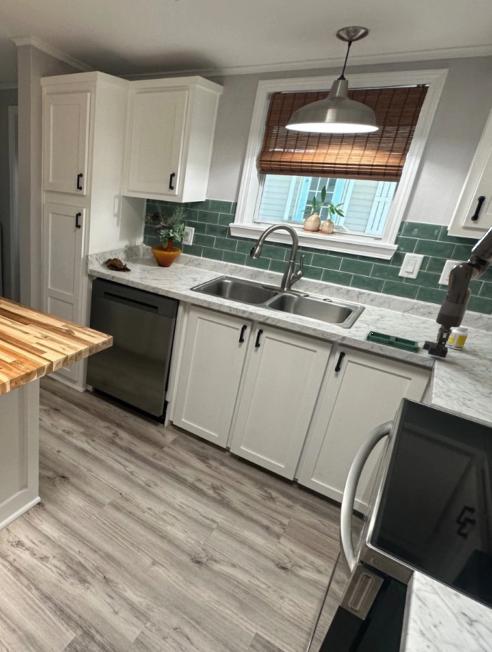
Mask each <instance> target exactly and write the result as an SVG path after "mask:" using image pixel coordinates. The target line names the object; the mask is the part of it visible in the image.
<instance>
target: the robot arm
mask: <svg viewBox="0 0 492 652" xmlns="http://www.w3.org/2000/svg"><path fill="white" fill-rule="evenodd" d="M470 254H471V256H470V257H469V258H468V259H467V261H461V262H458V263H456V264H455V265H453V266H452V267H451V269H450V272H449V274H448V281H447V282H448V283H447V290H446V293H445V296H444V299H443V301H442V303H441V305H440V308H439V311H438V313H437V317H436V319H435V323H436V324H438V325H440V326H439V327H438V330H437V334H436V342H435V343H436V348H435V351H434V355H437V356H436V357H438V356H440V355H441V353H442V350H443V347H447V343H448V341H449V338H450V335H451V333H452V331H453V329H452V328H456V327H459V326H460V325H461V326H462V322H463V319H464V317H465V314H466V311H467V308H468V304H469V302H470V298H471V295H472V290H471V288H470V283H471V281H475V280H477V279H479V278H481V276H483V275H484V274H485V273H486V271H487V270H488V268H489V266H490V265H491V263H492V225H491V226H490V227H489V228H488V229H487V230H486V232H484V234H483V235H482V236H481V238H479V240H478V241H477V242H476V243H475V244H474V246H472V248H471V250H470ZM434 355H433V356H434Z"/></svg>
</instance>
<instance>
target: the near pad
mask: <svg viewBox="0 0 492 652" xmlns="http://www.w3.org/2000/svg"><path fill="white" fill-rule="evenodd" d="M435 348H436V345H435V344H430V347H429V350H427V354H428V355H430V356H435V357H439V358H442V359H446V357H447V354H448V352H449V347H448V346H445V347H443V350H442V353H441V355H440V356H437V355H434V351H435Z"/></svg>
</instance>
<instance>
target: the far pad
mask: <svg viewBox="0 0 492 652" xmlns="http://www.w3.org/2000/svg"><path fill="white" fill-rule="evenodd" d="M430 344H435V345H436V342H434V341H429V340H425V341H424V344H423V346H422V350H424V351H428V350H429V347H430Z"/></svg>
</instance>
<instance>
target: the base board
mask: <svg viewBox="0 0 492 652" xmlns="http://www.w3.org/2000/svg"><path fill="white" fill-rule="evenodd" d="M372 333H373V334H372ZM365 341H366V342H371V343H375V344H379V345H383V346H386V347H391V348H395V349H398V350H402V351H406V352H409V353H410V352H411V353H415V354H416V353H417V350H418V347H419V341H416V340H413V339H409V338H404V337H400V336H395V335H392V334H391V335H390V334H387V333H382V332H378V331H374V330H369V332H368V333H367V336H366V339H365Z"/></svg>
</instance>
